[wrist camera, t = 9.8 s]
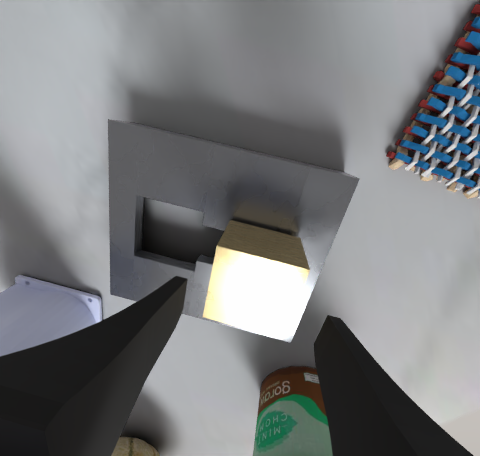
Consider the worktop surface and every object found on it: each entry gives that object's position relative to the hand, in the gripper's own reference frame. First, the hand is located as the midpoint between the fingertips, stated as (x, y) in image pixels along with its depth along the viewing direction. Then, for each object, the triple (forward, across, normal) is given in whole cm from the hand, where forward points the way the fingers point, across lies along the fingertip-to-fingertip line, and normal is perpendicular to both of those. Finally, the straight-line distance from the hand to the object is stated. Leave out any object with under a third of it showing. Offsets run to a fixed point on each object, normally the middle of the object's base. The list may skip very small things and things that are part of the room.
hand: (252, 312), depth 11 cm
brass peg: (+8, 0, 0) cm, 9 cm away
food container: (+9, -7, +16) cm, 20 cm away
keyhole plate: (+8, +3, 0) cm, 9 cm away
